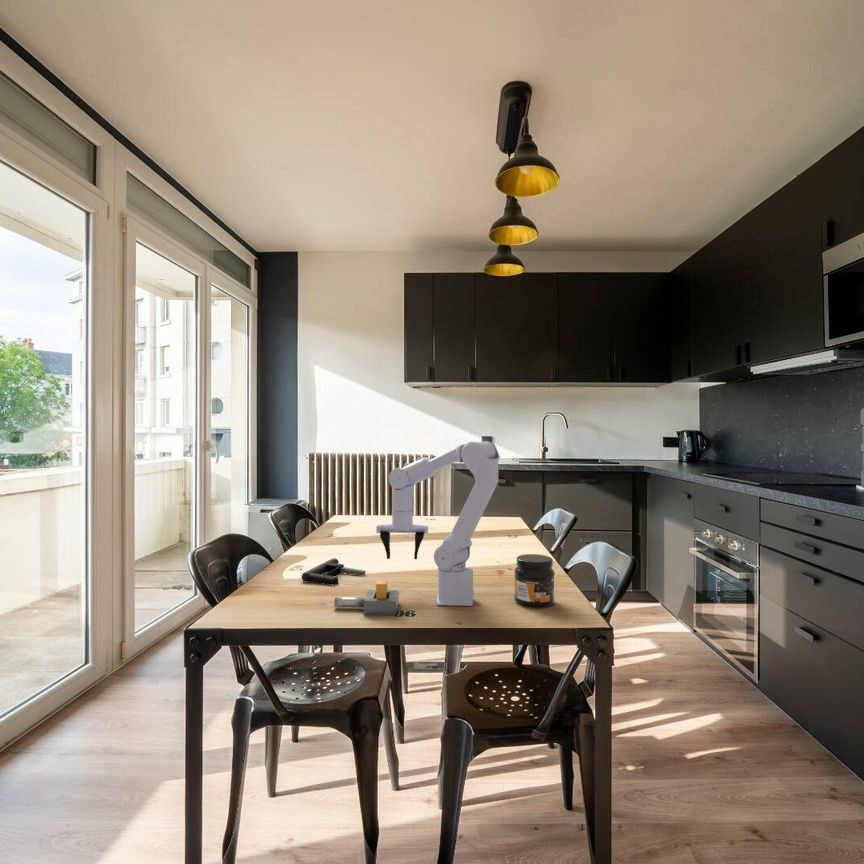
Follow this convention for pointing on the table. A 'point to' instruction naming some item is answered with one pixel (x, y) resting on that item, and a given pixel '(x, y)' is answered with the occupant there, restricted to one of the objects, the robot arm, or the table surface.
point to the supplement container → (534, 581)
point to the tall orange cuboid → (381, 589)
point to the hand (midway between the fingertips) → (402, 558)
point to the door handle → (331, 568)
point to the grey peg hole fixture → (372, 603)
